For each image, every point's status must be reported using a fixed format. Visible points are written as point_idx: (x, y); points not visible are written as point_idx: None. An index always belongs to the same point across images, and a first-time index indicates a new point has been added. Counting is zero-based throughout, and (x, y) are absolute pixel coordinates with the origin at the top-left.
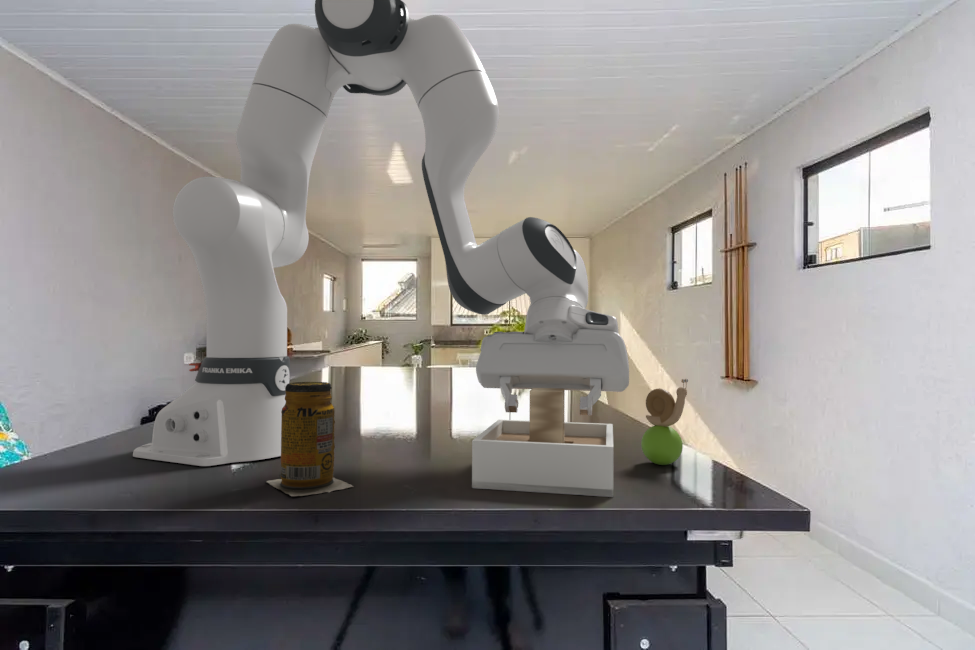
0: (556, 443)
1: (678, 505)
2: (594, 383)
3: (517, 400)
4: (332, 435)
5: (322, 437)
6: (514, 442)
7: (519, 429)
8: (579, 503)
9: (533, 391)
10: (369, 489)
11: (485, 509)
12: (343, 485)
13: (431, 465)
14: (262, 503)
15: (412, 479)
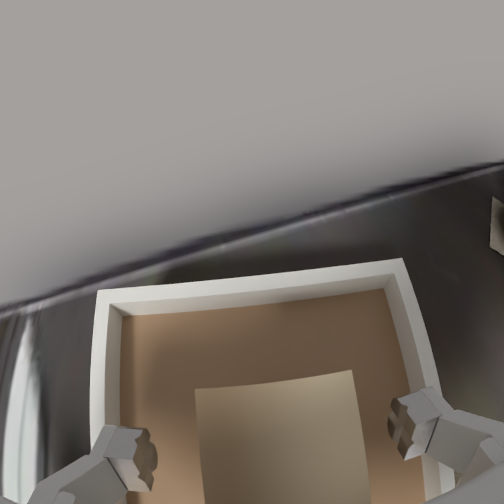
0: (216, 289)
1: (58, 311)
2: (55, 497)
3: (409, 445)
4: None
5: None
6: (313, 269)
7: None
8: (184, 282)
9: (333, 374)
10: (473, 247)
11: (307, 220)
12: (498, 246)
13: (493, 401)
14: (494, 184)
15: (469, 310)
